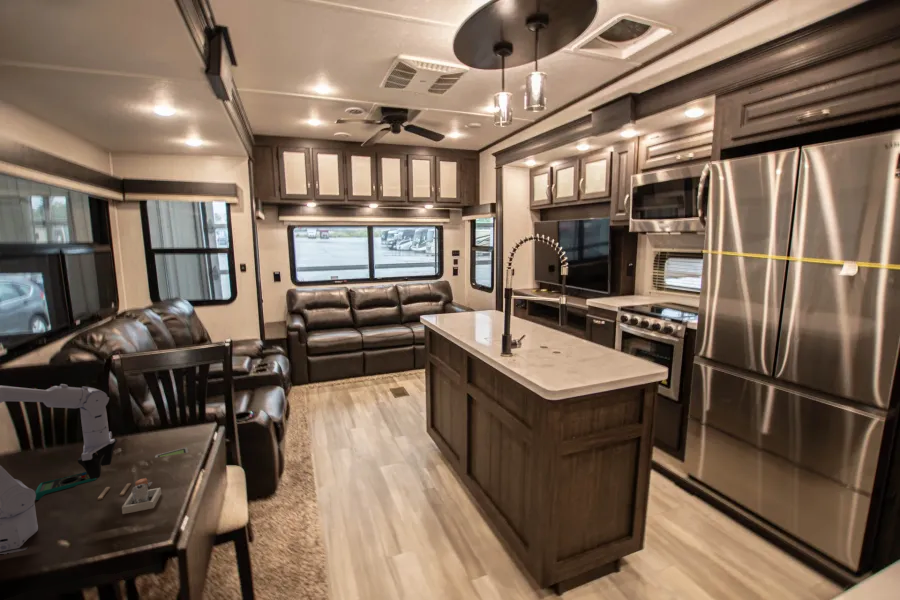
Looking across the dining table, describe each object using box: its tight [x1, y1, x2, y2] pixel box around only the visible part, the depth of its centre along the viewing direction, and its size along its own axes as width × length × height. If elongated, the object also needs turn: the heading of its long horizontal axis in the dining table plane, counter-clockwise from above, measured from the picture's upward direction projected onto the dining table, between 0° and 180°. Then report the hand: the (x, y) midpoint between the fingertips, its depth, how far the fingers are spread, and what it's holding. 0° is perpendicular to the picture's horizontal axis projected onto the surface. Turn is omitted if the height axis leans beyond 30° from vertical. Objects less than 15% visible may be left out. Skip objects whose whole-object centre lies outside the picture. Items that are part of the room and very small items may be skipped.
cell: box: [131, 484, 150, 504], centre depth 119 cm, size 4×4×6 cm
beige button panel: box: [97, 481, 153, 501], centre depth 126 cm, size 11×14×2 cm
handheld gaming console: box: [154, 447, 189, 459], centre depth 146 cm, size 10×2×15 cm
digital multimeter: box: [35, 471, 98, 501], centre depth 130 cm, size 7×15×3 cm, turn 127°
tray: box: [121, 487, 162, 515], centre depth 119 cm, size 7×7×4 cm
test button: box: [135, 477, 149, 486], centre depth 127 cm, size 3×3×2 cm
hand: (100, 471), depth 121 cm, fingers open, 7 cm apart
